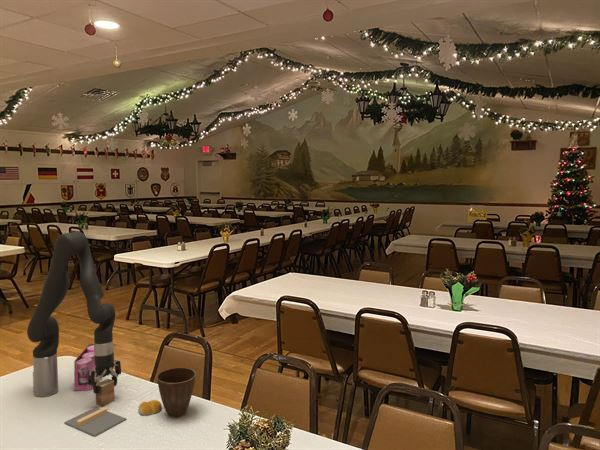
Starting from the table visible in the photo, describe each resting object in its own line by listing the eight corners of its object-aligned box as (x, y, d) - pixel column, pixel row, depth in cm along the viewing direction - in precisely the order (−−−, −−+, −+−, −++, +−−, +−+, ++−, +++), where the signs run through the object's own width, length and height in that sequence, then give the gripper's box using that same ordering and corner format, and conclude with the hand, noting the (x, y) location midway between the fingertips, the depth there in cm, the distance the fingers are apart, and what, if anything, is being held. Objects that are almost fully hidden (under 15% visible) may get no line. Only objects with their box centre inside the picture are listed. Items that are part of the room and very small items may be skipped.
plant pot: (203, 409, 187) (203, 372, 185) (177, 426, 174) (177, 386, 172) (176, 401, 194) (175, 364, 192) (149, 416, 181) (148, 377, 179)
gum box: (91, 391, 202) (90, 361, 200) (72, 392, 200) (71, 362, 199) (106, 369, 225) (105, 343, 224) (89, 370, 224) (88, 343, 223)
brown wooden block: (95, 404, 190) (95, 383, 189) (108, 398, 195) (107, 378, 194) (102, 407, 188) (101, 386, 187) (114, 401, 193) (114, 380, 192)
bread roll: (164, 412, 185) (163, 402, 184) (141, 418, 180) (141, 408, 179) (158, 403, 192) (158, 394, 191) (136, 409, 187) (136, 399, 186)
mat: (64, 423, 174) (64, 417, 174) (96, 408, 187) (96, 402, 186) (94, 436, 166) (94, 430, 165) (126, 419, 178) (126, 414, 178)
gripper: (112, 345, 197) (114, 381, 199) (82, 355, 185) (84, 394, 186) (124, 348, 194) (125, 385, 195) (94, 359, 181) (96, 398, 183)
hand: (105, 389), depth 191 cm, fingers open, 8 cm apart
